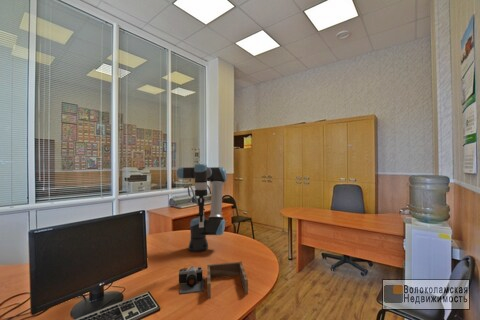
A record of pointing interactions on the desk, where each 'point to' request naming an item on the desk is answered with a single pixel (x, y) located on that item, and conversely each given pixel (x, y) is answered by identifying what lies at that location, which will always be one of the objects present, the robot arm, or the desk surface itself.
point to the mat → (196, 288)
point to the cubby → (226, 273)
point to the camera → (190, 276)
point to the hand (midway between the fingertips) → (201, 224)
